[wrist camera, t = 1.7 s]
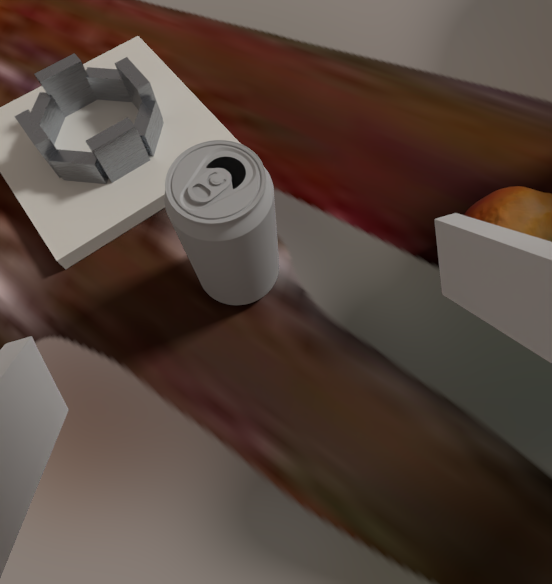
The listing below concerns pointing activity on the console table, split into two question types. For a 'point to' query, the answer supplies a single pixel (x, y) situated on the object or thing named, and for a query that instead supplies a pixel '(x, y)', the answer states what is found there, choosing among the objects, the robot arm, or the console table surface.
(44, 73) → the collar
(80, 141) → the board
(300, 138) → the console table surface
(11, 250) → the console table surface
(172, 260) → the console table surface
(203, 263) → the beverage can
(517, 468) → the console table surface
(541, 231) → the fruit
